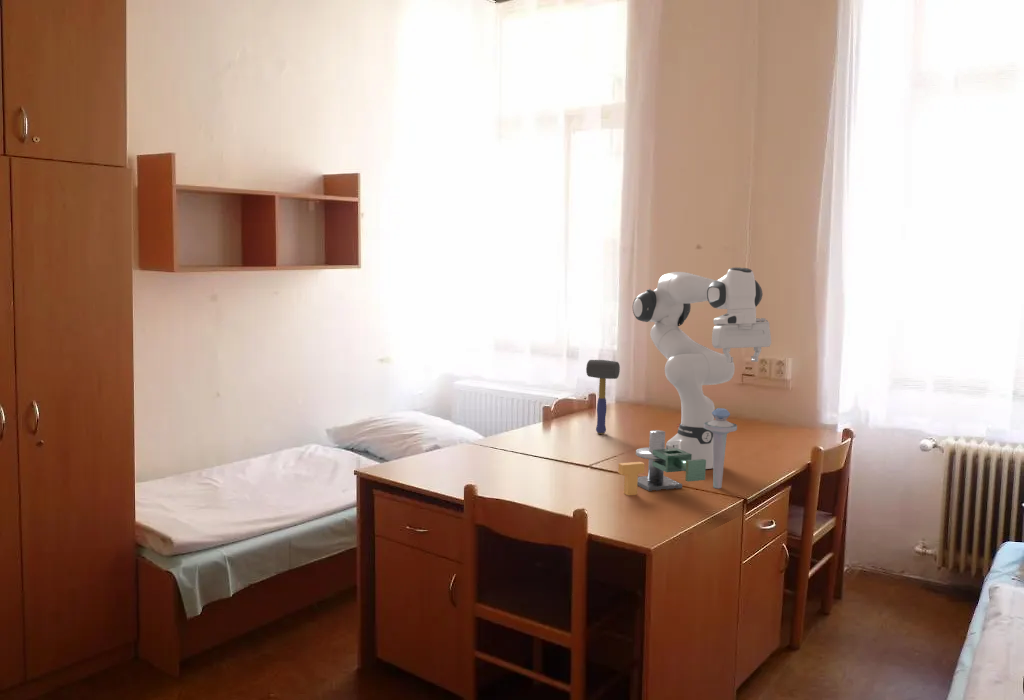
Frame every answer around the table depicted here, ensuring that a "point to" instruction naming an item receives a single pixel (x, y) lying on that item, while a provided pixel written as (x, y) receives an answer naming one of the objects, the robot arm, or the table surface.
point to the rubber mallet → (602, 386)
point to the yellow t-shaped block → (631, 476)
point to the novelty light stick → (719, 441)
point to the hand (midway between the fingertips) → (742, 362)
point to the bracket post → (667, 464)
